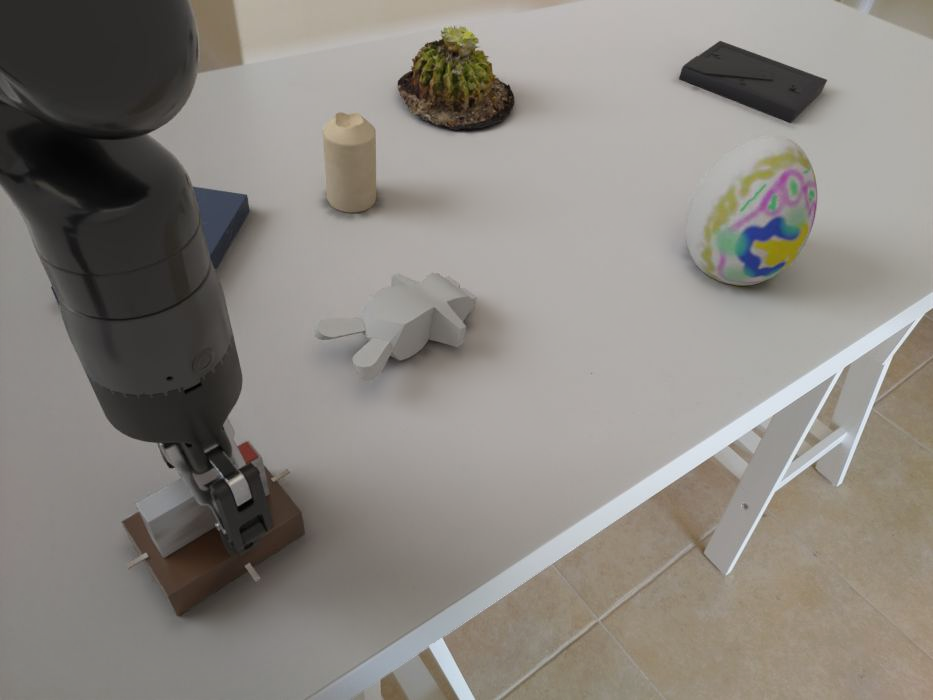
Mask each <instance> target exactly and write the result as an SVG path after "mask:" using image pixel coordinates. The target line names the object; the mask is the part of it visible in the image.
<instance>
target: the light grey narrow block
mask: <svg viewBox="0 0 933 700" xmlns="http://www.w3.org/2000/svg"><path fill="white" fill-rule="evenodd" d="M237 447H238V449H239V451H240V453H241V455H242V457H243V459H244V461H245V463H246V464H248V463H252V464H253V465H254V467H257V468H258V470H259V472H260V477H261V481H262V484H263V488H264V492H265V495H266V496H268V495H269V494H270V493H269V488H268V484H267V479H266V474H265V469H264V465H265V464H264V460H263V457H262V455H261V453H259V452H258V450H257V449H256V448H255V446H254V445H253V444H252V443H251V442H250V441H249V440H247V441H244V442H242V443H241V444H239V445H237ZM193 475H194V477H195V479H196V481H197V483H198V485H199V486H203V485H205V484H207V483H209V482H211V481H212V480H214V479H216V478H217V476H216V474H215V473H214V471H213V470H212V469H211V470H210V471H208V472H206V473H204V474H200V475H197V474H193ZM135 506H136V508H137V510H138V512H139V513H140V515H141V517H142V519H143V521H144V524H145V526H146V528H147V530H148V532H149V534H150V537H151V539H152V541H153V542H154V544H155V545H156V547H157V548H158V550H159V552H160V553H161V555H162V556H163V558H165V557H167V556H168V555H170V554H172V553H173V552H175V551H177V550H178V549H180V548H182V547H183V546H185V545H187V544H188V543H190V542H192V541H193V540H195V539H196V538H198V537H200V536H201V535H203V534H205V533H206V532H208V531H210V530H211V529H213V528H215V525H214V524H215V521H214V519H213V517H212V515H211V514H210V512H209V510H208V508H207V506H202V505H200V504H198V503H197V502H196V501H195V500H193V498H192V497H191V495H190V493H189V491H188V489H187V487H186V486H185V484H184V482H183V480H182V478H181V477H180V478H178V479H177V480H175V481H173V482H171V483H169V484H168V485H166V486H164V487H162V488H161V489H159V490H157V491H155V492H153V493H151V494H150V495H148V496H146V497H144V498H142V499H141V500H139V501H137V502H136V503H135Z"/></svg>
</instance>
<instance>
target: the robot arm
mask: <svg viewBox="0 0 933 700" xmlns="http://www.w3.org/2000/svg"><path fill="white" fill-rule="evenodd" d="M191 2H192V1H191V0H0V188H1V190H3V191H4V193H5V194H6V195H7V197H8V198H9V199H10V201H11V203H12V204H13V205H14V206H15V207H16V209H17V210H18V212H19V214H20V215H21V217H22V219H23V222H24V224H25V225H26V227H27V230H28V232H29V233H28V234H29V236H30V239H31V242H32V244H33V246H34V248H35V252H36V253H37V256H38V258H39V260H40V263H41V265H42V267H43V269H44V271H45V273H46V276H47V278H48V280H49V282H50V285H51V286H52V287H53V289H54V291H55V293H56V296H57V298H58V301H59V304H58V305H59V309H60V314H61V317H62V321H63V325H64V328H65V331H66V333H67V335H68V338H69V340H70V342H71V345H72V347H73V349H74V351H75V353H76V355H77V357H78V360H79V362H80V364H81V367H82V368H83V370H84V373H85V375H86V377H87V379H88V382H89V384H90V387H91V388H92V390H93V392H94V395H95V397H96V399H97V401H98V403H99V405H100V407H101V409H102V413H103V414H104V416H105V418H106V420H107V421H108V422H109V423H110V425H112V426H113V428H115V429H116V430H117V431H118V432H120V433H121V434H123V435H125V436H127V437H129V438H131V439H133V440H136V441H141V442H144V443H145V442H146V443H153V444H157V447H158V449H159V452H160V455H161V458H162V460H163V462H164V463H165V464H166V466H167V467H168V468H169V469H175V468H176V469H177V470H176V469H175V470H176V471H177V473H178V472H179V473H178V475H179V476H180V478H182V480H183V482H184V484H185V486H186V487H187V489H188V491H189V493H190V495H191V497H192V498H193V500H195V501H196V502H197V503H198V504H200V505H202V506H207V508H208V510H209V512H210V514H211V515H212V517H213V519H214V521H215V524H214V525H215V527H216V529H217V530H218V531H219V533H220V536H221V539H222V542H223V545H224V548H225V549H226V551H227V552H228V553H229V555H230V556H236V555H237V554H238V555H239V556H240V555H242V554H243V553H245V552H246V551H248V550H250V549H251V548H253V547H254V546H256V545H257V544H259V539H260V536H261V535H263V534H264V533H266V532H269V531H270V530H272V529H273V528H274V525H273V520H272V517H271V514H270V510H269V506H268V503H267V499H266V495H265V492H264V488H263V484H262V481H261V477H260V472H259V470H258V468H257V467H254V465H253V464H252V463H248V464H246V463H245V461H244V459H243V457H242V455H241V453H240V451H239V449H238V447H237V446H238V445H237V443H236V441H235V430H234V427H233V425H232V424H231V421H230V419H229V416H230V414H231V412H232V411H233V409H234V407H235V406H236V404H237V402H238V400H239V398H240V396H241V393H242V389H243V371H242V368H241V363H240V359H239V358H240V357H239V353H238V350H237V345H236V341H235V336H234V332H233V327H232V323H231V319H230V314H229V310H228V306H227V302H226V297H225V292H224V290H223V289H224V288H223V286H222V283H221V280H220V279H219V276H218V273H217V271H216V270H215V269H214V267H213V264H212V261H211V258H210V254H209V250H208V246H207V241H206V237H205V233H204V228H203V224H202V220H201V216H200V212H199V207H198V204H197V200H196V196H195V193H194V189H193V187H194V186H193V183H192V181H191V178H190V176H189V174H188V172H187V170H186V169H185V167H184V166H183V164H182V163H181V162H180V159H178V158H177V156H176V155H174V154H173V153H172V152H171V151H170V150H169V149H168V148H167V147H165V146H164V145H163V144H162V143H160V142H159V141H157V139H155V138H154V137H152V136H151V135H149V134H150V133H152V132H154V131H156V130H158V129H160V128H162V127H164V126H165V125H166V124H168V123H170V121H171V120H173V119H174V118H175V117H176V116H177V115H178V114H179V113H180V112H181V111H182V109H183V108H184V107H185V105H186V104H187V103H188V101H189V99H190V97H191V95H192V93H193V90H194V88H195V85H196V81H197V78H198V73H199V68H200V58H201V43H200V34H199V27H198V22H197V18H196V15H195V12H194V9H193V5H192V3H191ZM211 469H212V470H213V471H214V473H215V474H216V476H217V478H216V479H214V480H212V481H211V482H209V483H207V484H205V485H203V486H199V485H198V483H197V481H196V479H195V477H194V475H193V474H197V475H200V474H204V473H206V472H208V471H210V470H211Z"/></svg>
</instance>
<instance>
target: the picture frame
mask: <svg viewBox="0 0 933 700" xmlns="http://www.w3.org/2000/svg"><path fill="white" fill-rule="evenodd" d="M678 79H679V80H681V81H684V82H685V83H688V84H690V85H693V86H695V87H698V88H701V89H703V90H706V91H708V92H711V93H714V94H717V95H719V96H722V97H724V98H727V99H729V100H732V101H734V102H737V103H738V104H739V103H740V104H742V105H744V106H747V107H749V108H752V109H754V110H757V111H759V112H762V113H764V114H767V115H769V116H772V117H774V118H778V119H780V120H783V121H785V122H788V123H791V124H792V122H793V121H795V119H797V117H798V116H799V115H801V113H803V111H805V109H806V108H807V107H808V106H809V105H811V103H812V102H814V100H816V98H818V96H820V94H821V93H822V92H823V91H824V88H825V86H826V84H827V82H828V79H826V78H823V77H821V76H818V75H815V74H813V73H809V72H808V71H805V70H801V69H799V68H796V67H794V66H791V65H788V64H786V63H782V62H780V61H777V60H774V59H772V58H769V57H766V56H763V55H762V54H758V53H755V52H753V51H749V50H747V49H744V48H741V47H740V46H736V45H734V44H732V43H731V44H730V43H728V42H724V41H722V40H719V41H718V42H716V43H715V44H713V45H712V46H710V47H709V48H707V49H706V50H704V51H703V52H702V53H700V54H699V55H695V57H693V58H691V59H690V60H688V62H686V63H685V64H684V65H683V66H682V67H681V71H680V74H679V77H678Z"/></svg>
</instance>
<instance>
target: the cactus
mask: <svg viewBox="0 0 933 700" xmlns="http://www.w3.org/2000/svg"><path fill="white" fill-rule="evenodd" d="M440 33H441V34H440V37H441V38H439V40H433V41H430V42H428V41H426V43H424V45H423V46H421V48H419V49H418V51H417V54H416V53H415V55H414V57H413V58H411V61H412V64H413V65H411V69H410V71H408V72H406V73H405V74H403V75H402V76H401V77H400V78H399V79H398V80H397V90H398V93H399V95H400V97H401V99H402V101H403V103H404V105H407V108H408V110H409V111H410V113H411V114H413V116H417V117H419V118H421V119H422V120H423V121H426V122H429V123H432V124H435V125H436V126H444V127H446V128H447V129H450V130H457V131H459V130H460V129H469V130H471V129H474V130H475V129H483V128H486V127H488V126H491V125H494V124H497V123H498V122H499V123H500V122H503V121H504V120H505V118H507V117H508V116H509V115H510V114H511V112H512V110H513V108H514V105H515V102H516V101H515V94H514V92H513V90H512V89H511V85H510V84H509V83H508V84H506V83H505V82H503V81H501V80H500V79H499V78H498V77H497V75H495V74H494V72H493V71H494V70H493V63H492V62H490V61H489V60H488V58H490V56H489V55H485V52H484V51H483V49H480V50H479V49H478V48H480V47H482V46H480V45H479V46H478V45H477V44H479V43H480V41H479V38H477V36H476V34H474V32H473V31H469V29H467V28H466V26H461V25H459V27H457V26H456V25H453V27H452V26H451V25H449V27H448V28H447V27H444V28H443V30H440ZM476 49H477V50H476Z"/></svg>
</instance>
